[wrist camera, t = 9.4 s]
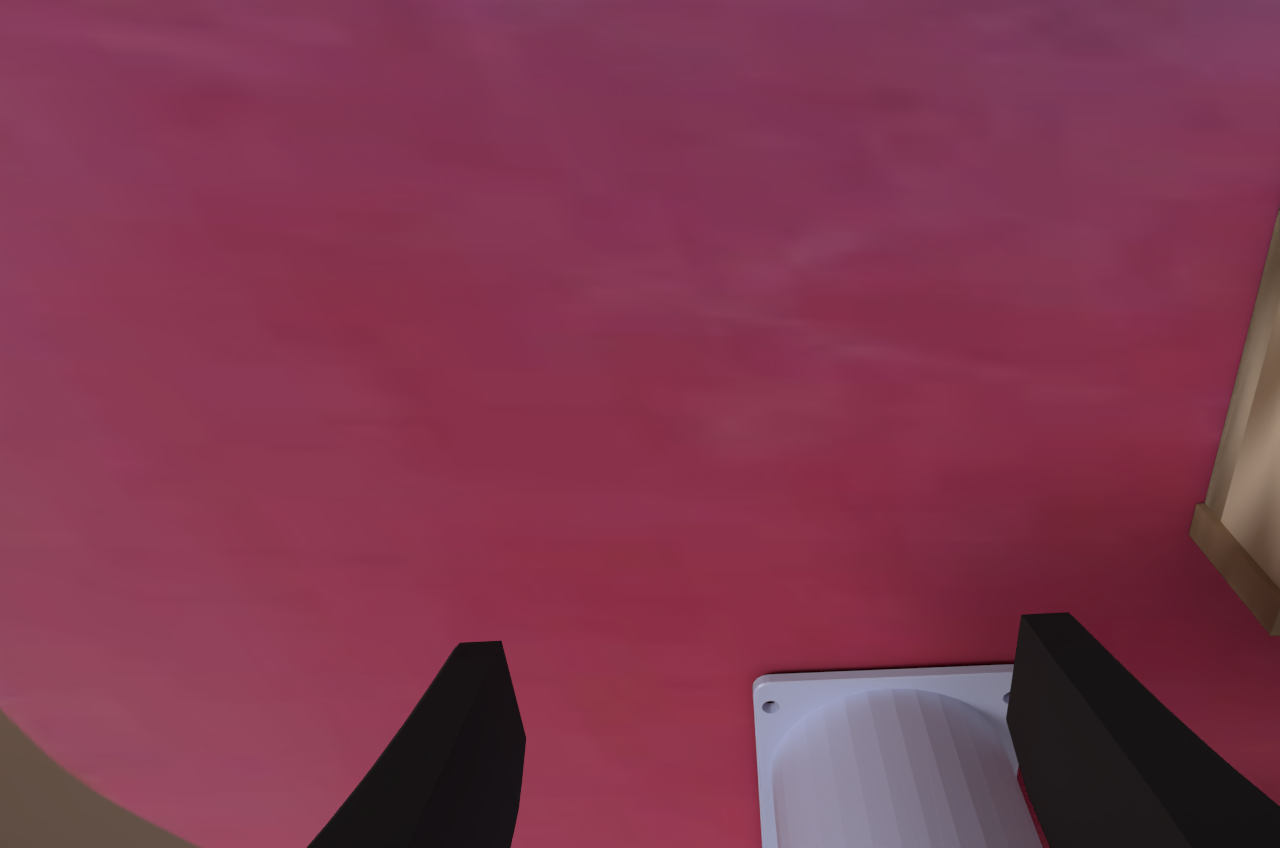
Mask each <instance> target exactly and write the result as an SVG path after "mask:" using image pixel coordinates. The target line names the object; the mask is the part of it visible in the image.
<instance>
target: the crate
mask: <svg viewBox="0 0 1280 848" xmlns="http://www.w3.org/2000/svg"><path fill="white" fill-rule="evenodd" d="M1189 535H1190V537H1191V538H1192V539H1193V540H1194V542H1195V543H1196V544H1197V545H1198V547H1199V548H1200V549H1201V550H1202V552H1203V553H1204V554H1205V555H1206V557H1207V558H1208V559H1209V560H1210V562H1211V563H1212V564H1213V565H1214V567H1215V568H1216V569H1217V570H1218V572H1219V573H1220V574H1221V575H1222V576H1223V578H1224V579H1225V580H1226V581H1227V583H1228V584H1229V585H1230V586H1231V588H1232V589H1233V590H1234V591H1235V593H1236V594H1237V595H1238V596H1239V598H1240V599H1241V600H1242V601H1243V603H1244V604H1245V605H1246V606H1247V608H1248V609H1249V610H1250V611H1251V613H1252V614H1253V615H1254V616H1255V618H1256V619H1257V620H1258V621H1259V622H1260V624H1261V625H1262V626H1263V627H1264V629H1265V630H1266V631H1267V632H1268V634H1269V635H1270V636H1280V208H1279V212H1278V216H1277V220H1276V223H1275V227H1274V231H1273V235H1272V239H1271V243H1270V247H1269V251H1268V255H1267V259H1266V263H1265V267H1264V271H1263V275H1262V279H1261V283H1260V287H1259V291H1258V294H1257V298H1256V302H1255V306H1254V310H1253V314H1252V318H1251V322H1250V326H1249V330H1248V334H1247V338H1246V342H1245V346H1244V350H1243V354H1242V358H1241V362H1240V365H1239V369H1238V373H1237V377H1236V381H1235V385H1234V389H1233V393H1232V397H1231V401H1230V405H1229V409H1228V413H1227V417H1226V421H1225V425H1224V429H1223V433H1222V436H1221V440H1220V444H1219V448H1218V452H1217V456H1216V460H1215V464H1214V468H1213V472H1212V476H1211V480H1210V484H1209V488H1208V492H1207V496H1206V500H1205V503H1198V504H1196V507H1195V512H1194V516H1193V520H1192V524H1191V528H1190V532H1189Z"/></svg>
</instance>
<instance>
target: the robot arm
mask: <svg viewBox="0 0 1280 848" xmlns="http://www.w3.org/2000/svg"><path fill="white" fill-rule="evenodd" d="M1008 692H1010V694H1007V693H1008ZM768 701H775V702H774V703H765V702H768ZM753 702H754V719H755V735H756V752H757V768H758V785H759V801H760V818H761V834H762V848H1043V847H1042V844H1041V842H1040V839H1039V836H1038V834H1037V831H1036V829H1035V826H1034V823H1033V821H1032V818H1031V815H1030V813H1029V810H1028V807H1027V805H1026V802H1025V800H1024V797H1023V794H1022V792H1021V789H1020V786H1019V784H1018V781H1017V773H1018V766H1019V767H1020V770H1021V774H1022V777H1023V780H1024V783H1025V787H1026V790H1027V793H1028V795H1029V798H1030V800H1031V803H1032V805H1033V808H1034V810H1035V813H1036V815H1037V817H1038V820H1039V822H1040V824H1041V827H1042V829H1043V832H1044V834H1045V836H1046V839H1047V841H1048V844H1049V846H1050V848H1280V806H1279V805H1277V804H1276V803H1275V802H1274V801H1272V800H1271V799H1270V798H1269V797H1268V796H1266V795H1265V794H1264V793H1263V792H1262V791H1260V790H1259V789H1258V788H1257V787H1256V786H1254V785H1253V784H1252V783H1251V782H1250V781H1248V780H1247V779H1246V778H1245V777H1244V776H1242V775H1241V774H1240V773H1239V772H1238V771H1237V770H1235V769H1234V768H1233V767H1232V766H1231V765H1230V764H1228V763H1227V762H1226V761H1225V760H1224V759H1223V758H1222V757H1220V756H1219V755H1218V754H1217V753H1216V752H1215V751H1214V750H1212V749H1211V748H1210V747H1209V746H1208V745H1207V744H1206V743H1205V742H1204V741H1202V740H1201V739H1200V738H1199V737H1198V736H1197V735H1196V734H1195V733H1194V732H1193V731H1191V730H1190V729H1189V728H1188V727H1187V726H1186V725H1185V724H1184V723H1183V722H1182V721H1181V720H1179V719H1178V718H1177V717H1176V716H1175V715H1174V714H1173V713H1172V712H1171V711H1170V710H1168V709H1167V708H1166V707H1165V706H1164V705H1163V704H1162V703H1161V702H1160V701H1159V700H1158V699H1157V698H1156V697H1155V696H1154V695H1153V694H1151V693H1150V692H1149V691H1148V690H1147V689H1146V688H1145V687H1144V686H1143V685H1142V684H1141V683H1140V682H1139V681H1138V680H1137V679H1136V678H1135V677H1134V676H1133V675H1132V674H1131V673H1130V672H1129V671H1128V670H1127V669H1126V668H1125V667H1124V666H1123V665H1122V664H1121V663H1120V662H1119V661H1117V660H1116V659H1115V658H1114V657H1113V656H1112V655H1111V654H1110V653H1109V652H1108V651H1107V650H1106V649H1105V648H1104V647H1103V646H1102V645H1101V644H1100V643H1099V642H1098V641H1097V640H1096V639H1095V638H1094V637H1093V636H1092V635H1091V634H1090V633H1089V632H1088V631H1087V630H1086V629H1085V628H1084V627H1083V626H1082V625H1081V624H1080V623H1079V622H1078V621H1077V620H1076V619H1075V618H1074V617H1073V616H1072V615H1070V614H1069V613H1068V612H1067V613H1047V614H1027V615H1021V621H1020V628H1019V635H1018V641H1017V648H1016V655H1015V661H1014V664H1005V665H981V666H957V667H933V668H909V669H886V670H862V671H838V672H814V673H790V674H768V675H763V676H761V677H759V678H757V679H756V680H755V681H754V683H753ZM525 745H526V736H525V732H524V728H523V724H522V720H521V716H520V712H519V708H518V704H517V700H516V696H515V692H514V689H513V685H512V681H511V677H510V673H509V669H508V665H507V661H506V657H505V653H504V649H503V645H502V641H487V642H467V643H459V644H458V646H457V647H456V648H455V649H454V650H453V651H452V653H451V654H450V656H449V657H448V659H447V661H446V662H445V664H444V665H443V667H442V668H441V670H440V671H439V673H438V674H437V676H436V677H435V679H434V680H433V682H432V683H431V685H430V686H429V688H428V689H427V691H426V692H425V694H424V695H423V697H422V698H421V700H420V701H419V702H418V704H417V705H416V707H415V708H414V710H413V711H412V713H411V714H410V715H409V717H408V718H407V720H406V721H405V723H404V724H403V725H402V727H401V728H400V730H399V731H398V732H397V734H396V735H395V736H394V738H393V739H392V741H391V742H390V743H389V745H388V746H387V747H386V749H385V750H384V752H383V753H382V754H381V756H380V757H379V758H378V760H377V761H376V762H375V764H374V765H373V767H372V768H371V769H370V771H369V772H368V773H367V774H366V776H365V777H364V778H363V780H362V781H361V782H360V783H359V785H358V786H357V787H356V788H355V790H354V791H353V792H352V793H351V795H350V796H349V797H348V798H347V800H346V801H345V802H344V803H343V805H342V806H341V807H340V808H339V810H338V811H337V812H336V813H335V814H334V816H333V817H332V818H331V819H330V821H329V822H328V823H327V824H326V826H325V827H324V828H323V829H322V830H321V831H320V833H319V834H318V835H317V836H316V837H315V838H314V840H313V841H312V842H311V843H310V844H309V845H308V847H307V848H510V847H511V842H512V838H513V833H514V829H515V824H516V819H517V815H518V810H519V802H520V793H521V785H522V776H523V765H524V755H525Z"/></svg>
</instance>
